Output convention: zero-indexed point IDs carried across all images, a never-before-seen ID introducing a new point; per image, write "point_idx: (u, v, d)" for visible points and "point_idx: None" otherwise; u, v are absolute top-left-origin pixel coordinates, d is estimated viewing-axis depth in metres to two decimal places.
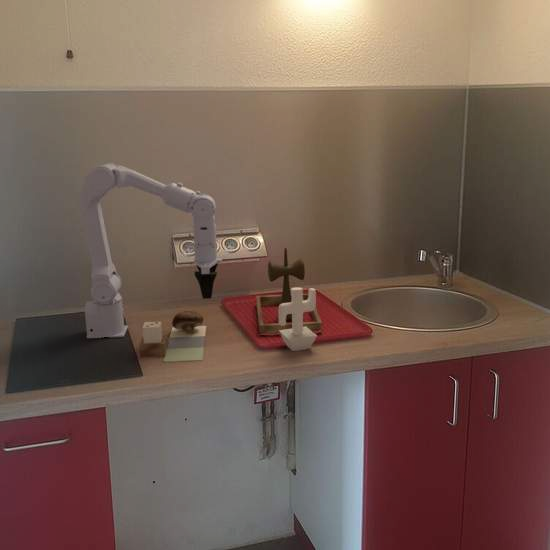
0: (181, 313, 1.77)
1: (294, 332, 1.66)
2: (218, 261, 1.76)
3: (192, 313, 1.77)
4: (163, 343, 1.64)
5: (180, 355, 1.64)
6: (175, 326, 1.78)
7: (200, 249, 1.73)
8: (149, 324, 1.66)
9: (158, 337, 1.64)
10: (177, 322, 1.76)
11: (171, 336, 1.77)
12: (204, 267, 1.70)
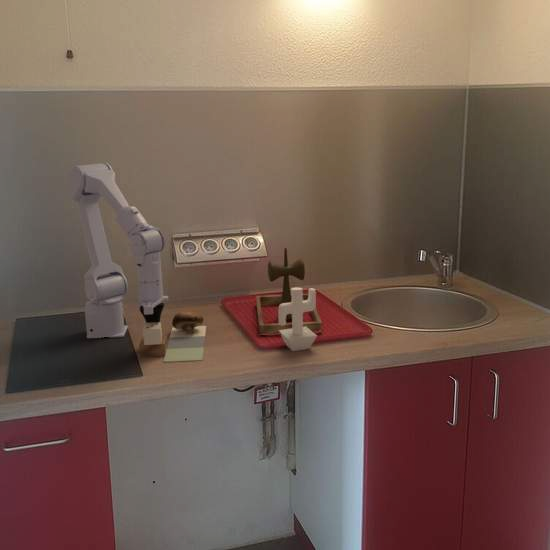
0: (181, 313, 1.77)
1: (294, 332, 1.66)
2: (164, 299, 1.65)
3: (192, 313, 1.77)
4: (163, 343, 1.64)
5: (180, 355, 1.64)
6: (175, 326, 1.78)
7: (143, 287, 1.62)
8: (149, 325, 1.64)
9: (158, 339, 1.63)
10: (177, 322, 1.76)
11: (171, 336, 1.77)
12: (147, 307, 1.58)
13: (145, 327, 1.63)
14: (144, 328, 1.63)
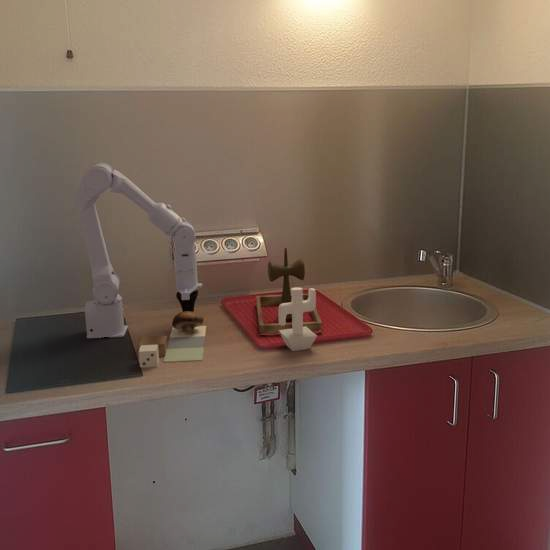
0: (181, 313, 1.77)
1: (294, 332, 1.66)
2: (198, 286, 1.80)
3: (192, 313, 1.77)
4: (163, 343, 1.64)
5: (180, 355, 1.64)
6: (175, 326, 1.78)
7: (180, 275, 1.78)
8: (144, 358, 1.58)
9: None
10: (177, 323, 1.76)
11: (171, 336, 1.77)
12: (184, 293, 1.74)
13: (141, 362, 1.58)
14: (141, 365, 1.58)
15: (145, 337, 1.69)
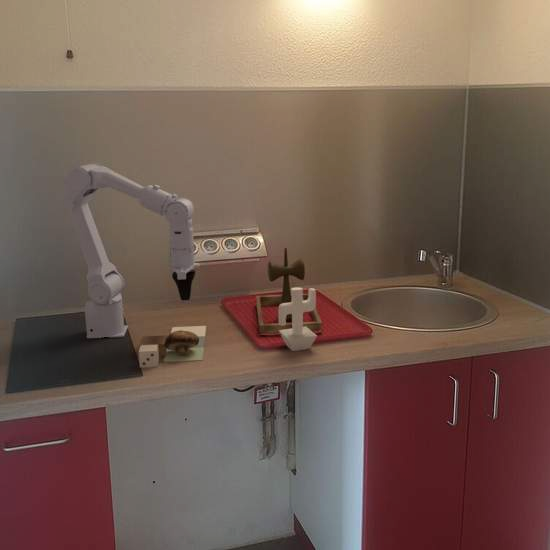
0: (174, 333, 1.63)
1: (294, 332, 1.66)
2: (195, 266, 1.72)
3: (185, 333, 1.63)
4: (163, 343, 1.64)
5: (180, 355, 1.64)
6: (168, 347, 1.64)
7: (176, 253, 1.69)
8: (144, 358, 1.58)
9: None
10: (169, 343, 1.62)
11: None
12: (180, 272, 1.65)
13: (141, 362, 1.58)
14: (141, 365, 1.58)
15: (145, 337, 1.69)
